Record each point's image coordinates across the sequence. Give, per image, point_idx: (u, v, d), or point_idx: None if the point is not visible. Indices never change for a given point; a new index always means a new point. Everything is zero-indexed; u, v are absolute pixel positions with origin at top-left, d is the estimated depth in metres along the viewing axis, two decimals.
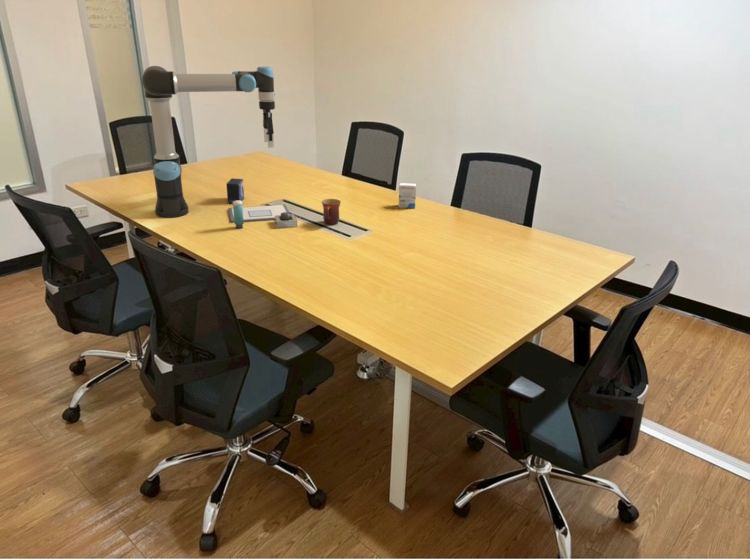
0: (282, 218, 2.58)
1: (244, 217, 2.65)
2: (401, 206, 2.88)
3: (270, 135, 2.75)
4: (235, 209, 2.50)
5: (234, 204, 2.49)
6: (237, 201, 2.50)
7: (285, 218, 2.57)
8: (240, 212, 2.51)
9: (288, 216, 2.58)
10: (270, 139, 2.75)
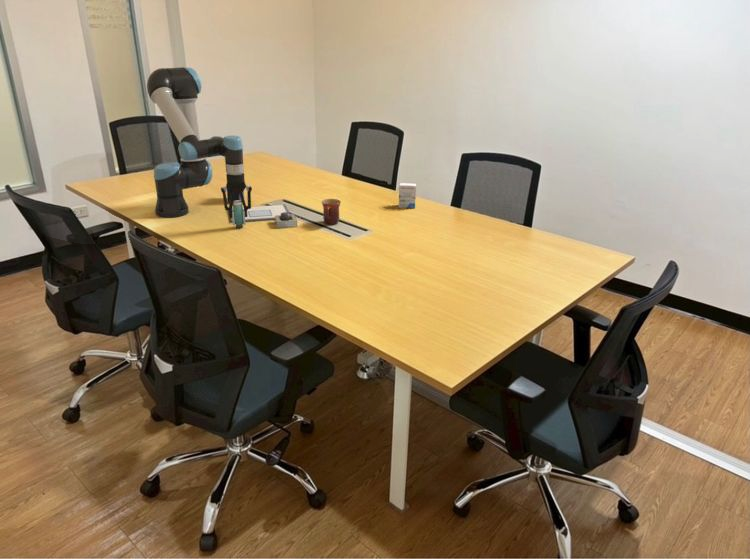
0: (282, 218, 2.58)
1: None
2: (401, 206, 2.88)
3: (229, 211, 2.51)
4: (235, 209, 2.50)
5: (234, 204, 2.49)
6: (237, 201, 2.50)
7: (285, 218, 2.57)
8: (240, 212, 2.51)
9: (288, 216, 2.58)
10: None
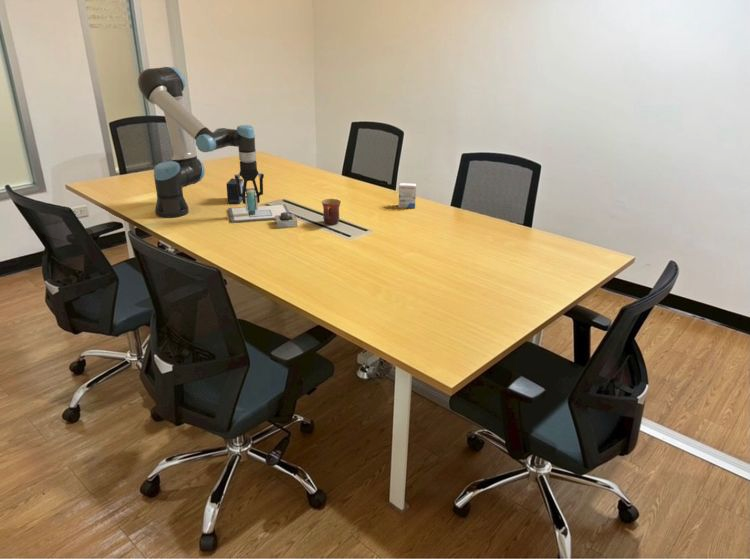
0: (282, 218, 2.58)
1: (244, 217, 2.65)
2: (401, 206, 2.88)
3: (242, 197, 2.65)
4: (248, 196, 2.64)
5: (247, 191, 2.63)
6: (250, 188, 2.65)
7: (285, 218, 2.57)
8: (253, 199, 2.65)
9: (288, 216, 2.58)
10: None
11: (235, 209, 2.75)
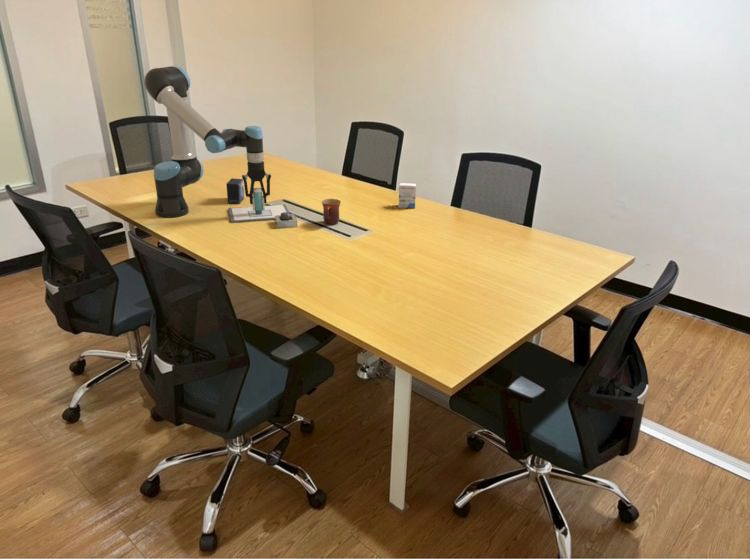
0: (282, 218, 2.58)
1: (244, 217, 2.65)
2: (401, 206, 2.88)
3: None
4: (255, 196, 2.65)
5: (254, 191, 2.64)
6: (257, 188, 2.65)
7: (285, 218, 2.57)
8: (260, 198, 2.66)
9: (288, 216, 2.58)
10: (250, 202, 2.67)
11: (235, 209, 2.75)
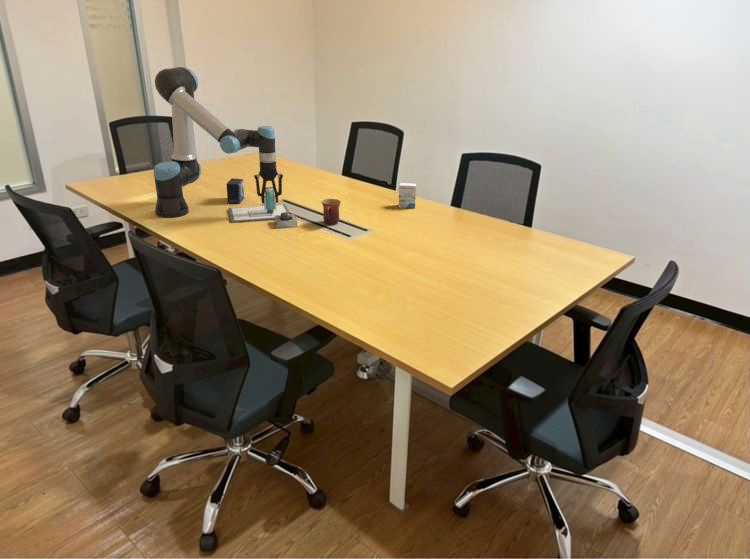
0: (282, 218, 2.58)
1: (244, 217, 2.65)
2: (401, 206, 2.88)
3: (261, 197, 2.68)
4: (267, 195, 2.66)
5: (266, 190, 2.65)
6: (269, 187, 2.67)
7: (285, 218, 2.57)
8: (272, 198, 2.67)
9: (288, 216, 2.58)
10: None
11: (235, 209, 2.75)
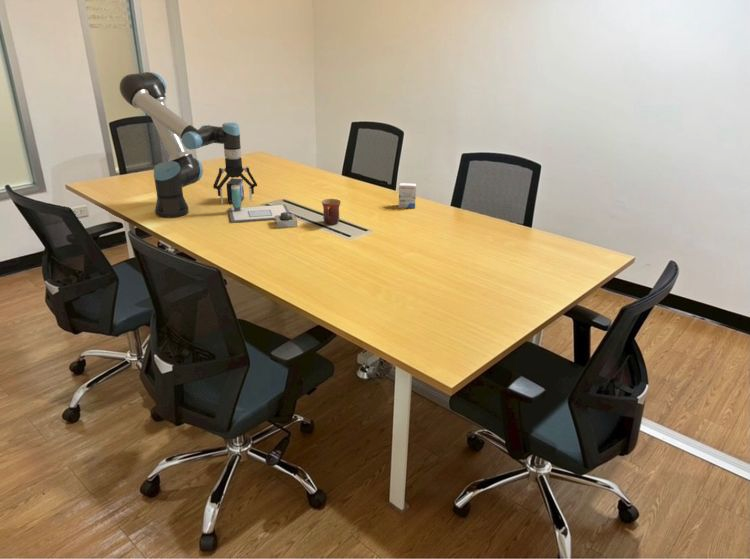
0: (282, 218, 2.58)
1: (244, 217, 2.65)
2: (401, 206, 2.88)
3: None
4: (233, 193, 2.68)
5: (233, 188, 2.67)
6: (235, 185, 2.69)
7: (285, 218, 2.57)
8: (238, 196, 2.69)
9: (288, 216, 2.58)
10: (218, 194, 2.68)
11: None
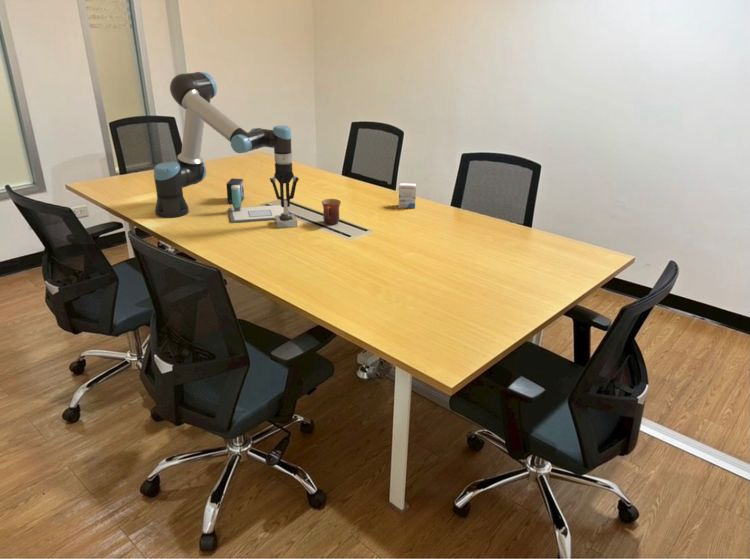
0: (282, 218, 2.58)
1: (244, 217, 2.65)
2: (401, 206, 2.88)
3: None
4: (233, 193, 2.68)
5: (233, 188, 2.67)
6: (235, 185, 2.69)
7: (285, 218, 2.58)
8: (238, 196, 2.69)
9: (288, 216, 2.58)
10: (281, 205, 2.57)
11: None
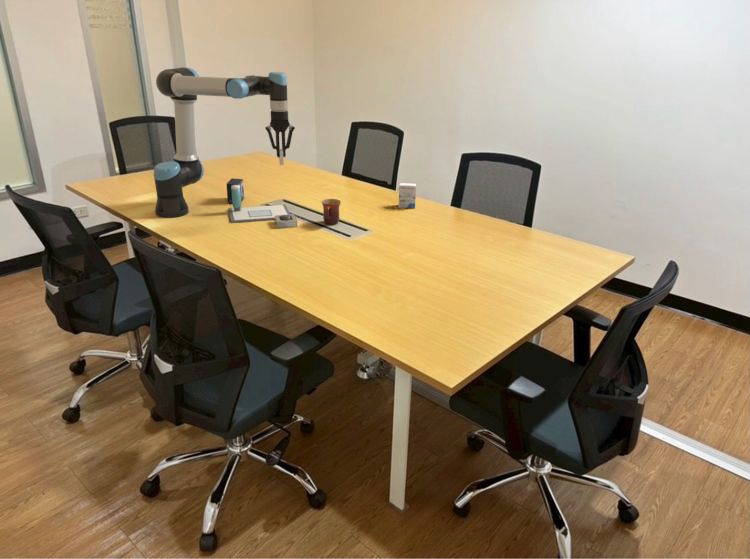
0: None
1: (244, 217, 2.65)
2: (401, 206, 2.88)
3: (276, 150, 2.52)
4: (233, 193, 2.68)
5: (233, 188, 2.67)
6: (235, 185, 2.69)
7: None
8: (238, 196, 2.69)
9: (288, 219, 2.58)
10: None
11: None
